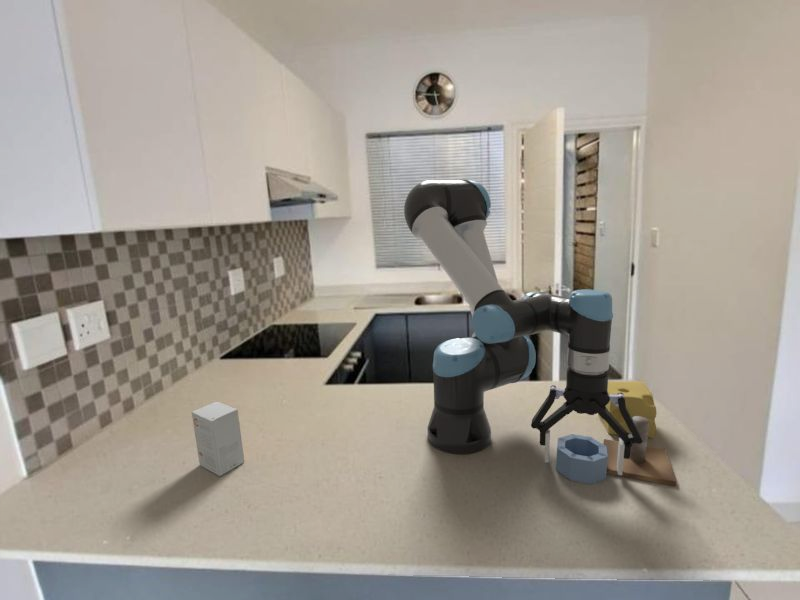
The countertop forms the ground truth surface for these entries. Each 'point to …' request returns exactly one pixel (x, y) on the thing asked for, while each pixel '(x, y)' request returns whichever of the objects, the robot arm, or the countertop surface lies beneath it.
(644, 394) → the cheese
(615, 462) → the post
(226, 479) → the countertop surface
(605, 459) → the ring
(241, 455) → the small box
